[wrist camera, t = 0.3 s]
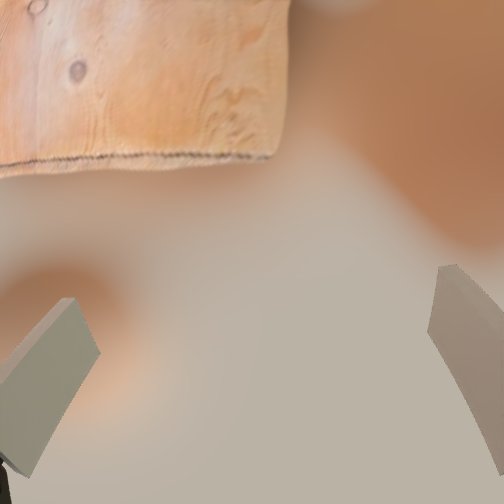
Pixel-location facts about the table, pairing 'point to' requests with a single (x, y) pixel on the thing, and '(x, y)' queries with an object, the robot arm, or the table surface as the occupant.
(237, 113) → the table surface
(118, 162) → the table surface
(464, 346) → the robot arm
